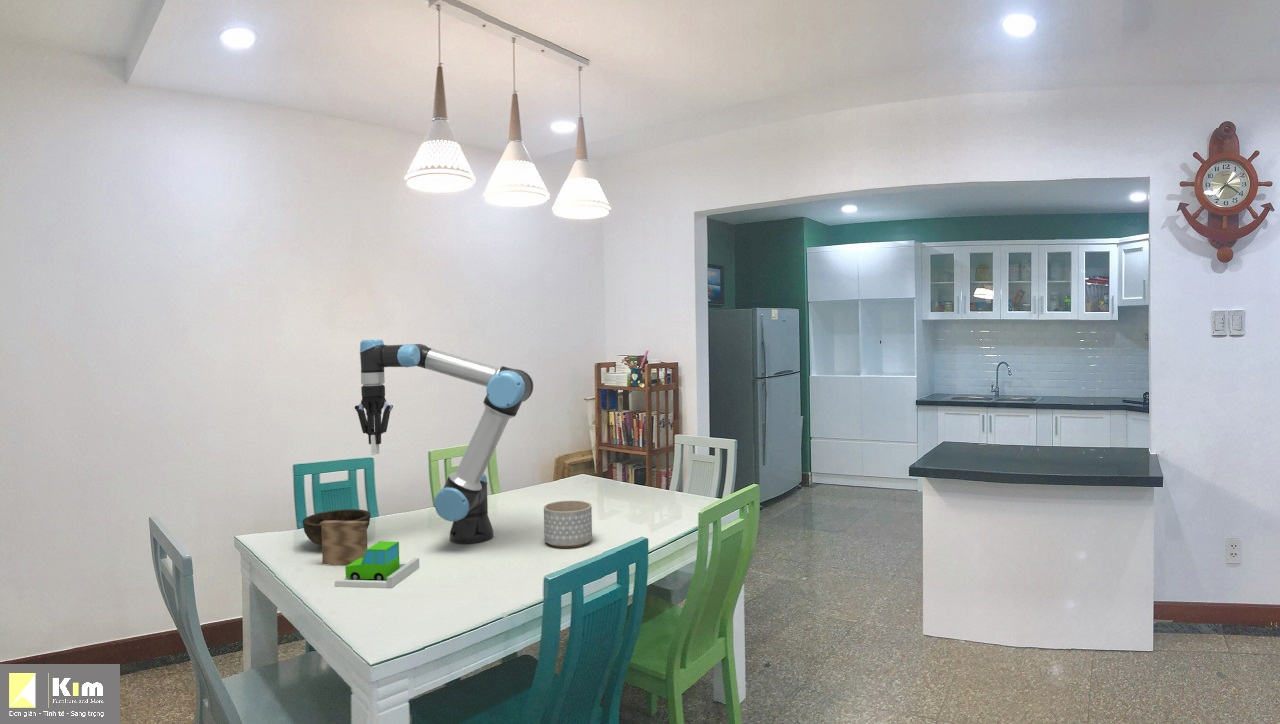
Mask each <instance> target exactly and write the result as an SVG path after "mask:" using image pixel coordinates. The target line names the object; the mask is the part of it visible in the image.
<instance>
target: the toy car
mask: <svg viewBox="0 0 1280 724" xmlns="http://www.w3.org/2000/svg"><path fill="white" fill-rule="evenodd" d="M399 562H400V542H399V541H389V540H388V541H386V540H385V541H384V540H382V541H381V540H379V541H378V542H377V543H376V542H375V543H374V544H373V545H371V546H369V547H367V549H366V551H365V554H364V557H363V558H359V559H357V560H356V561H354V562H352V563H351V564H349V565H345V568H344V569H345V579H350V580H374V581H387V577H388V576H390V575H391V574H392V573H394V572H395V571H397V570H398V569H400V563H399Z"/></svg>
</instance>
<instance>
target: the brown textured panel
mask: <svg viewBox="0 0 1280 724" xmlns="http://www.w3.org/2000/svg"><path fill="white" fill-rule="evenodd" d="M367 524H368V521H332V520H324V521H322V522H320V525H321V531H322V546H321V549H322V550H321V551H322V552H321V554H322V559H321V560H322V565H323V564H332V565H331V566H347V565H349V564H351V563H352V562H354V561H356V560H357V559H359V558H363V557H364V554H365V551H366V549H367V548H368V528H367Z"/></svg>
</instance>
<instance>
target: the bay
mask: <svg viewBox="0 0 1280 724" xmlns="http://www.w3.org/2000/svg"><path fill="white" fill-rule="evenodd" d="M399 563H400V569H398V570H397V571H395V572H394V573H392V574H391V575H390V576H388V577H387V580H384V581H375V580H374V579H361V580H351V579H336V580H334V587H340V588H341V587H343V588H372V589H373V588H375V589H376V588H379V589H393V588H395V586H397V585H398V584H400V583H401V582H402V581H403V580H405V579H406V578H407V577H409V576H410V575H412V574H413V573H414V572H416V571H417V570H418V569H419V568H420V558H419V557H414V558H412V559H411V560H410V561H408V562H402V561H401V562H400V561H399Z"/></svg>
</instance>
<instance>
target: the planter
mask: <svg viewBox="0 0 1280 724" xmlns="http://www.w3.org/2000/svg"><path fill="white" fill-rule="evenodd" d="M592 507H593V506H592V504H591V503H590V502H587V501H584V500H583V501H582V500H561V501H559V500H558V501H554V502H550V503H547V504H545V505H544V506H543V525H544V526H543V528H544V529H543V531H544V535H543V537H544V542H545V543H547V544H548V545H550V546H551V547H555V548H561V549H562V548H563V549H568V548H579V547H582V546H584V545H586V544H587V543H589V542H590V541H592V540H593V519H592V517H593V515H592V514H593V513H592Z"/></svg>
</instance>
